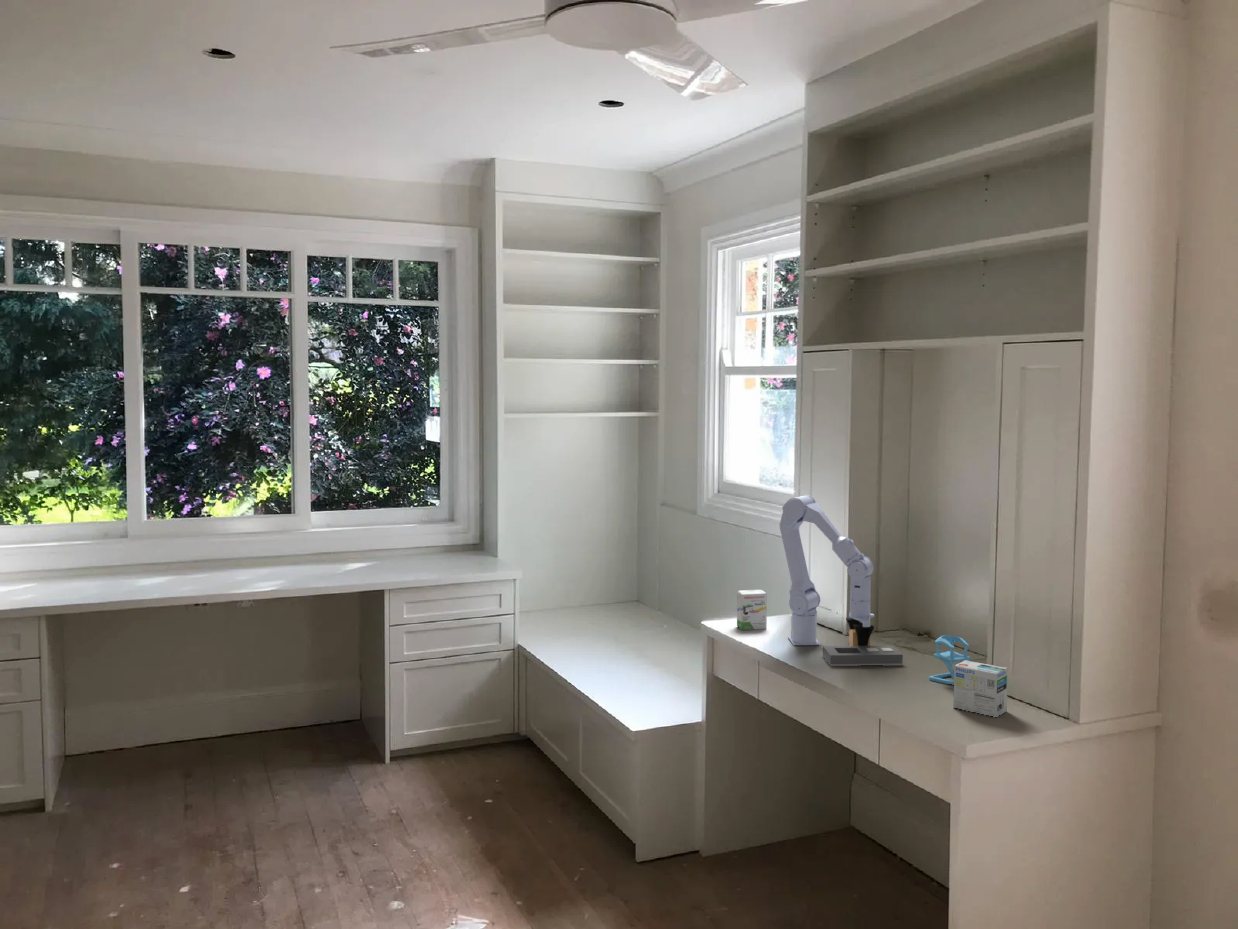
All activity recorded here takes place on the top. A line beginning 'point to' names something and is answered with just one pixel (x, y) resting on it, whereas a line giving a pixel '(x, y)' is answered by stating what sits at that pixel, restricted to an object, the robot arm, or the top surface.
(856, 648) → the power strip
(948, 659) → the chair
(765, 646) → the top surface
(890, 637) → the top surface
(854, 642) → the plug block
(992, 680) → the light bulb box
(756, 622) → the ink box
